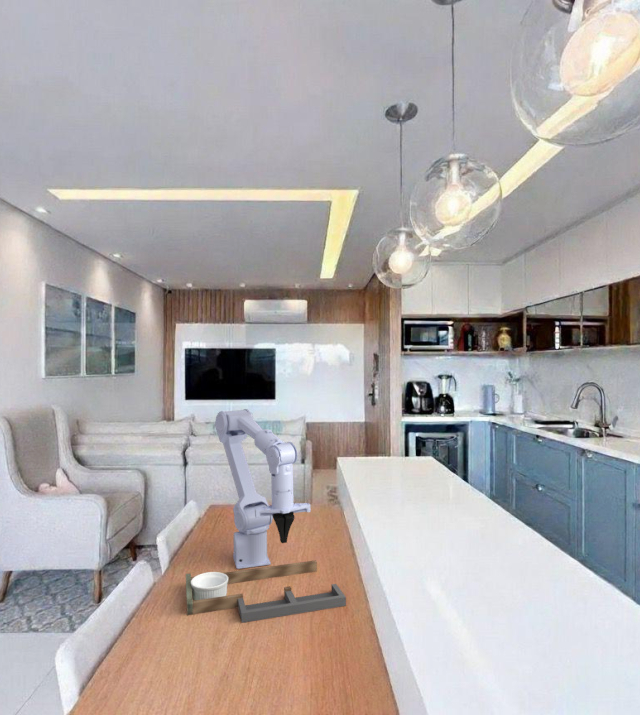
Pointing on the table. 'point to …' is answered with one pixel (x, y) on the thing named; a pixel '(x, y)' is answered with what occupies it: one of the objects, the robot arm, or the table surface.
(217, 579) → the ramekin
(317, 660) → the table surface
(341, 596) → the grey e-shaped block
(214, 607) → the walnut channel
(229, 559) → the table surface
